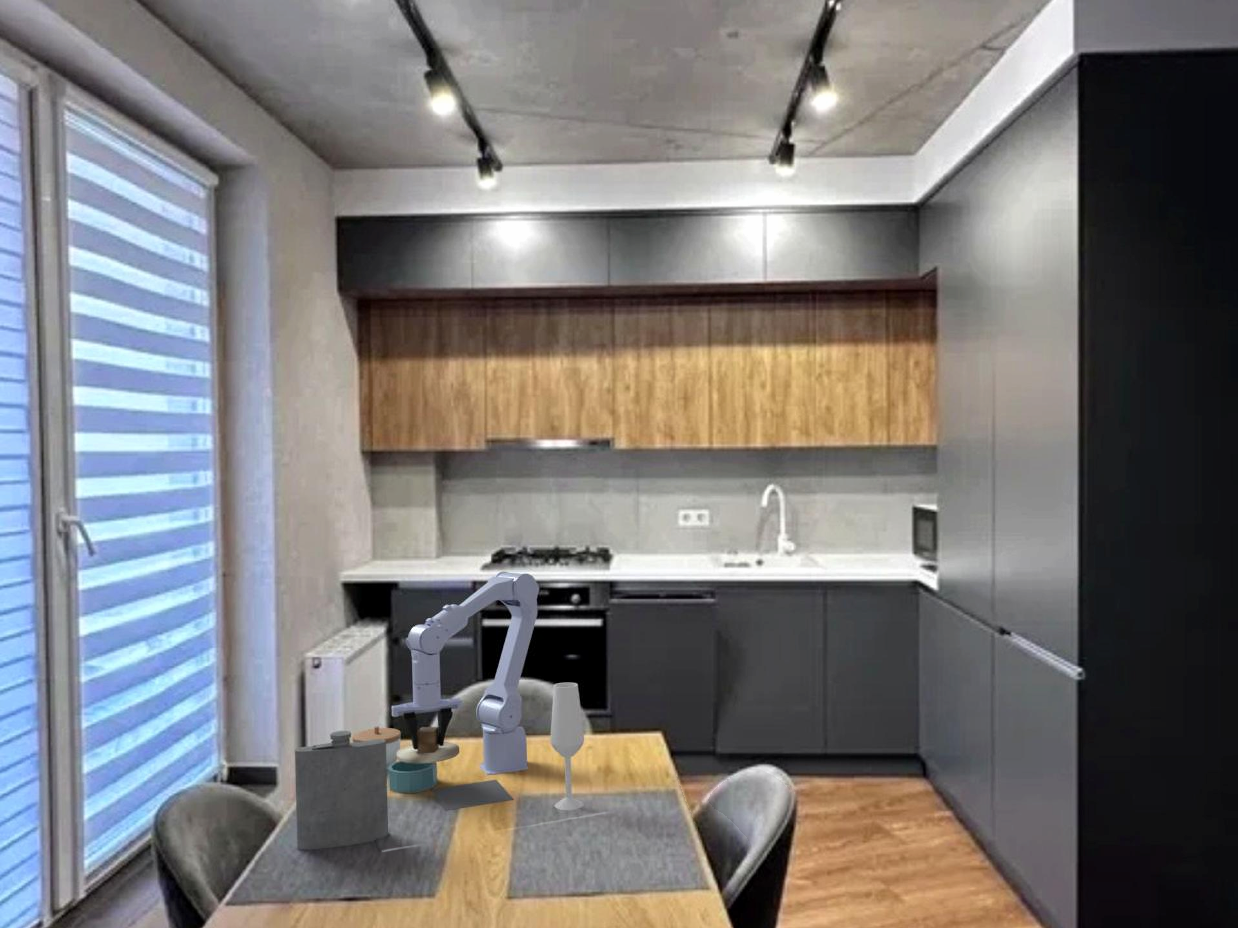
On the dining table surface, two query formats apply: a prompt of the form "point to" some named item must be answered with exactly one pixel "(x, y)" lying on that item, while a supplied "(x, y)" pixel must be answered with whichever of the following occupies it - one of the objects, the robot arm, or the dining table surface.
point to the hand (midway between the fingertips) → (428, 746)
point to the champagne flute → (567, 734)
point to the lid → (428, 748)
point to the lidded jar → (387, 734)
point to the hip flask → (341, 792)
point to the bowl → (411, 776)
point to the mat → (471, 794)
